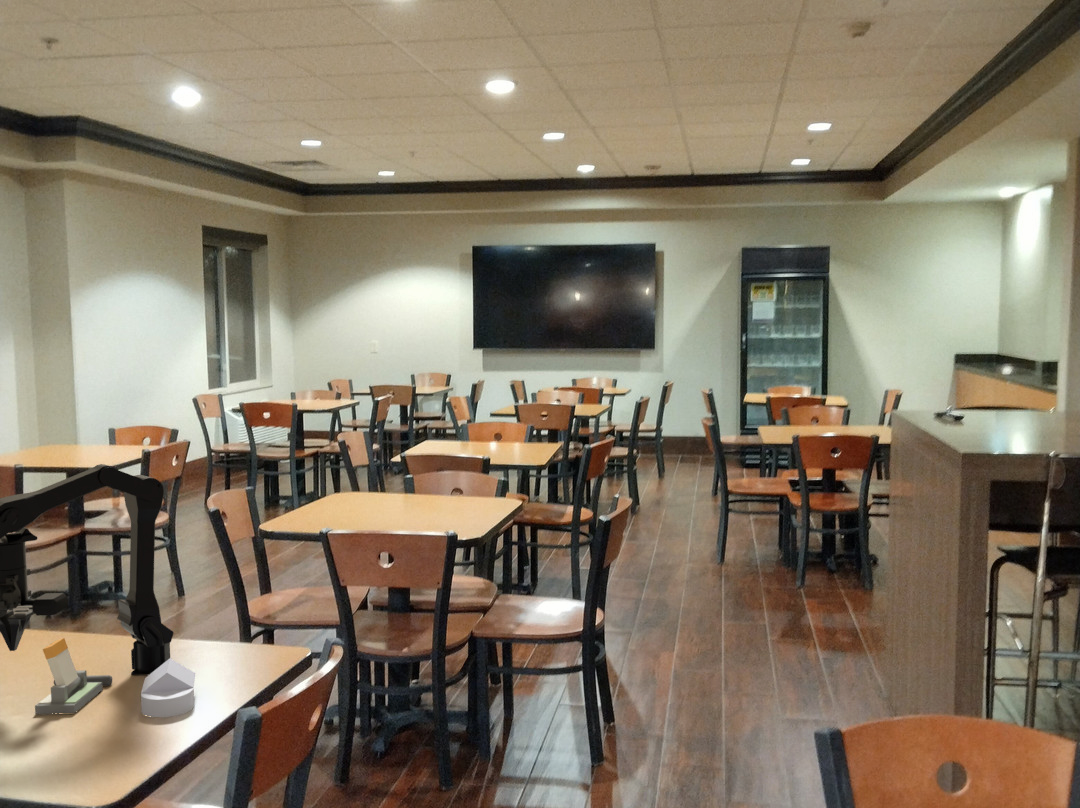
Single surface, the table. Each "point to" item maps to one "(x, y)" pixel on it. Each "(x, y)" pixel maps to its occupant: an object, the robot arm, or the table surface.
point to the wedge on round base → (168, 691)
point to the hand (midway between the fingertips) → (13, 650)
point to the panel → (69, 697)
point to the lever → (62, 665)
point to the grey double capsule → (99, 679)
